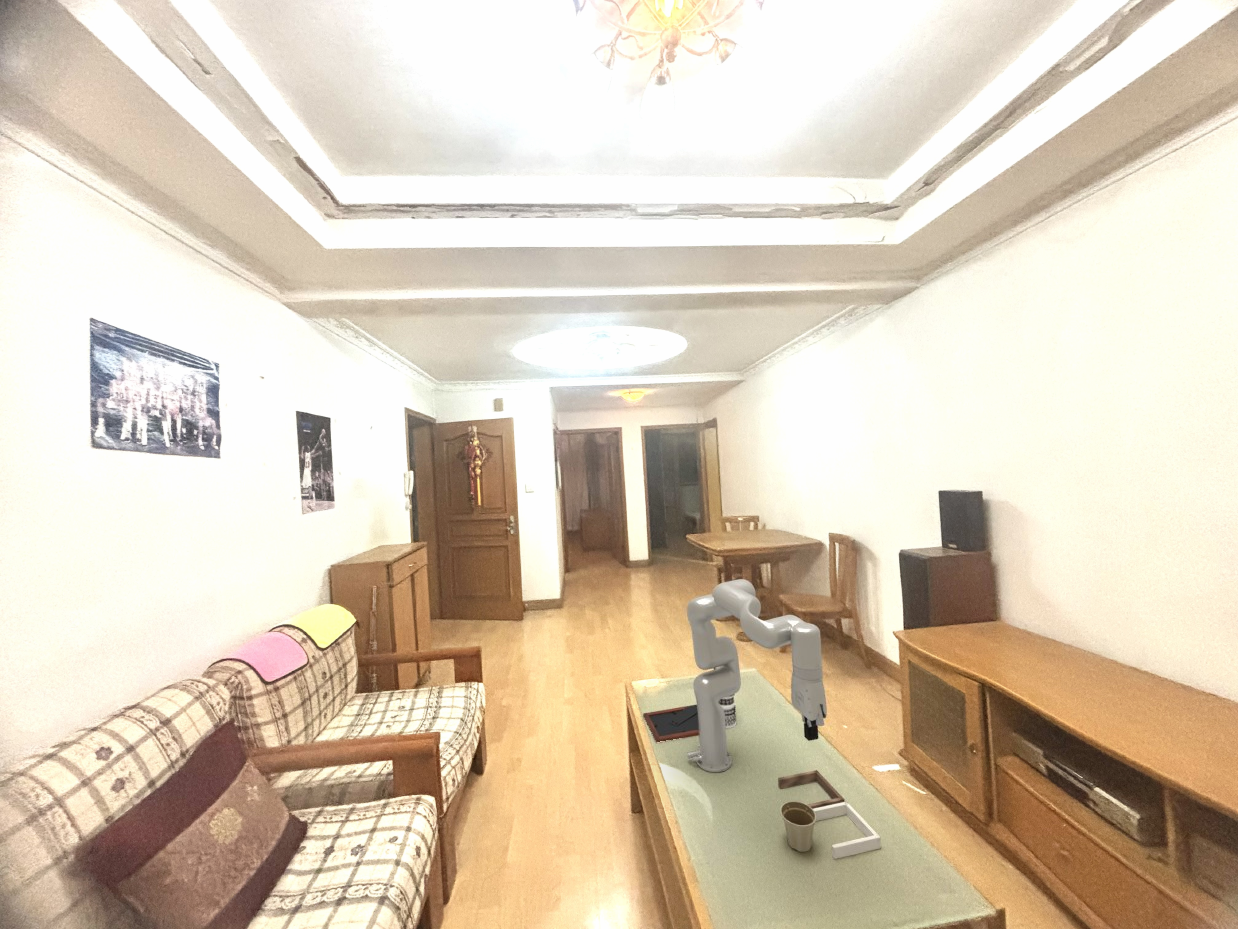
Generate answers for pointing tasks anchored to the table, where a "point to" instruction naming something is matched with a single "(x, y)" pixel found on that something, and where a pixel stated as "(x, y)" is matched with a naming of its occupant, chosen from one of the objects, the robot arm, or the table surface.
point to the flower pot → (798, 824)
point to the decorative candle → (728, 709)
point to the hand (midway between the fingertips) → (811, 738)
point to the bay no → (809, 778)
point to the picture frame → (673, 723)
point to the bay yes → (844, 808)
